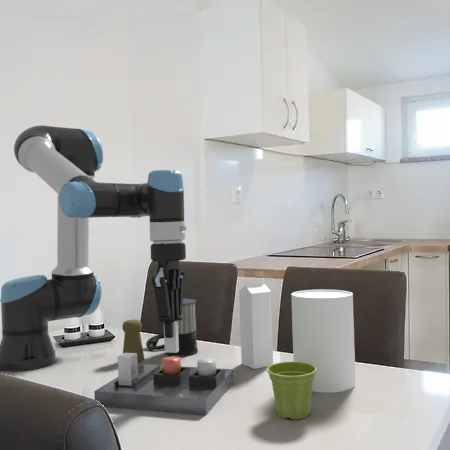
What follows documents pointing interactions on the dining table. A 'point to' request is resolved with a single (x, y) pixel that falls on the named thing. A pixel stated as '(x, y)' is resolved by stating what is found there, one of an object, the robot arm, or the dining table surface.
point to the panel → (167, 390)
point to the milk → (256, 324)
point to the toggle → (127, 368)
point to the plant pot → (292, 388)
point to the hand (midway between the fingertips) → (171, 351)
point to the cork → (133, 339)
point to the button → (171, 365)
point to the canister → (325, 337)
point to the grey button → (207, 367)
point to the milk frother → (182, 331)
